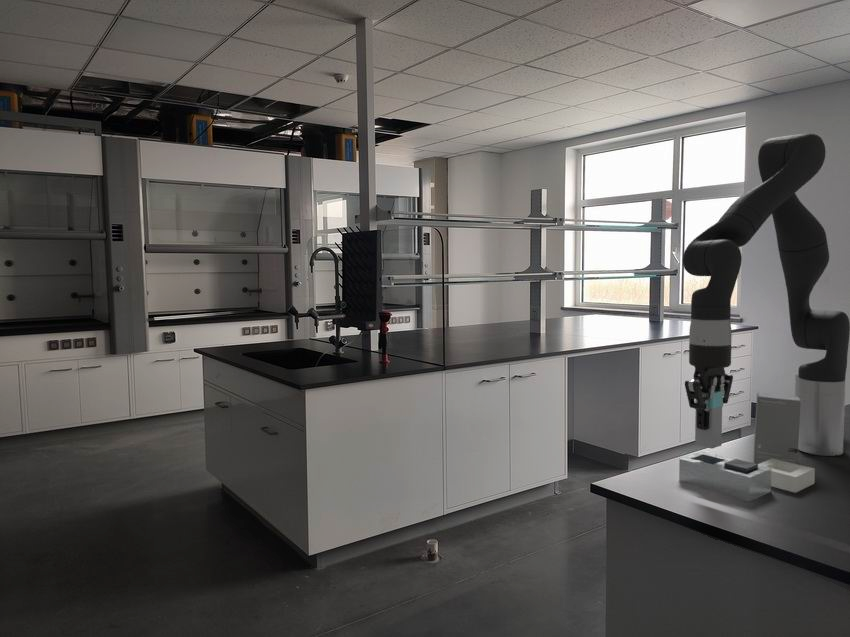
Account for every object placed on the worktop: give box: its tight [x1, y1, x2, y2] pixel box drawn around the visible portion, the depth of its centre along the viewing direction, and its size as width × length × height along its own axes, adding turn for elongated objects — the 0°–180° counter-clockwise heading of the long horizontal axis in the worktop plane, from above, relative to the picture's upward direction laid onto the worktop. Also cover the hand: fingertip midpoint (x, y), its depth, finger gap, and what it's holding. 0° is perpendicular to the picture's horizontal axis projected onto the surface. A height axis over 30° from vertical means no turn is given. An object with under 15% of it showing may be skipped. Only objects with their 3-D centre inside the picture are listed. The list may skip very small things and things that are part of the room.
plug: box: [694, 391, 723, 449], centre depth 119 cm, size 4×4×11 cm
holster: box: [758, 459, 816, 493], centre depth 118 cm, size 8×8×4 cm
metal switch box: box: [678, 450, 772, 502], centre depth 117 cm, size 8×14×6 cm, turn 35°
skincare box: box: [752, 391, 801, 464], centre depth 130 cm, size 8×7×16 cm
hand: (708, 426), depth 119 cm, fingers closed on plug, 3 cm apart
